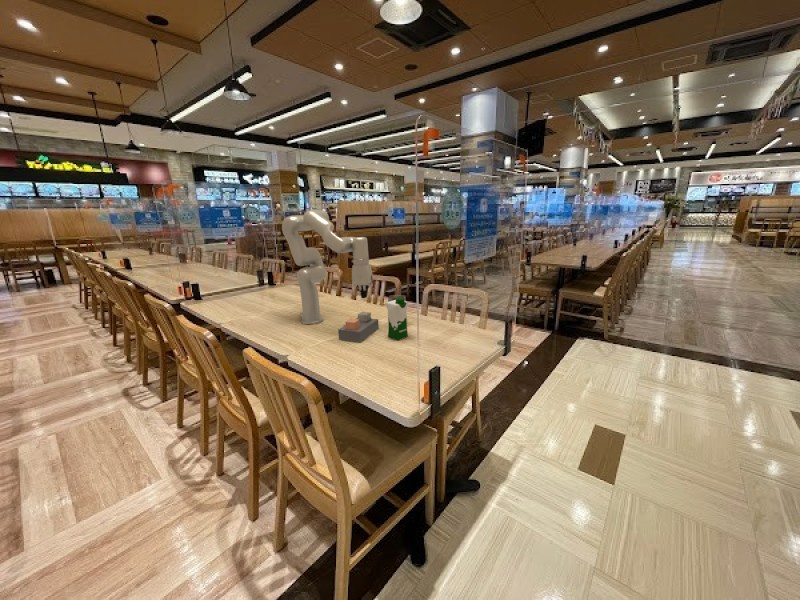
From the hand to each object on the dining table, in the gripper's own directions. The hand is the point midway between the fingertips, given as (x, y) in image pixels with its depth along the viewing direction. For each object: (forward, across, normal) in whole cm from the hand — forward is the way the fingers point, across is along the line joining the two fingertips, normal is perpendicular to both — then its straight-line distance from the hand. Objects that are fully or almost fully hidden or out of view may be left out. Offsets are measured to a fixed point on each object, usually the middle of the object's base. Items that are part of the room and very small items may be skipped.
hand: (364, 297), depth 164 cm
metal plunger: (+14, -1, 0) cm, 14 cm away
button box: (+18, -1, -6) cm, 19 cm away
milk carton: (+19, +19, -3) cm, 27 cm away
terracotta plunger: (+14, -1, -12) cm, 18 cm away
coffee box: (+18, +12, +14) cm, 26 cm away
